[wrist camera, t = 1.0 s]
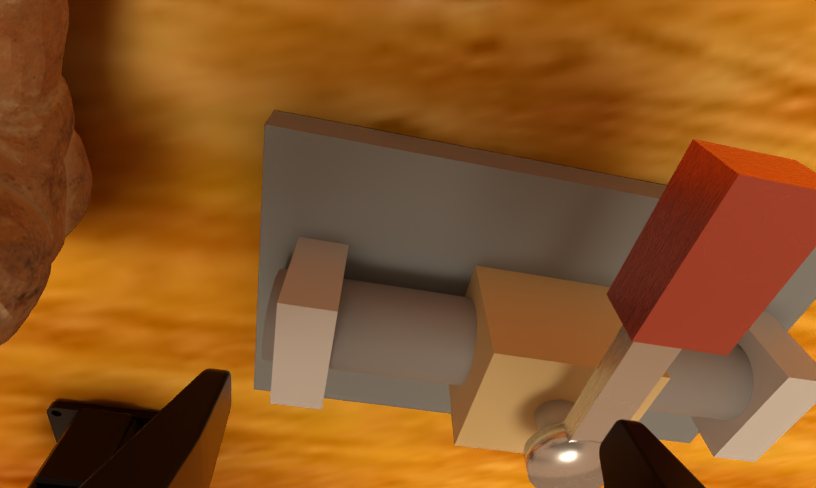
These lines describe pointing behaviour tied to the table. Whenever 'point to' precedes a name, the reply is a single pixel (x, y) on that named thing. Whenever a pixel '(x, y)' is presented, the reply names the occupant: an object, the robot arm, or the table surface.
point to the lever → (686, 290)
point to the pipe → (35, 154)
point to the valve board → (450, 230)
